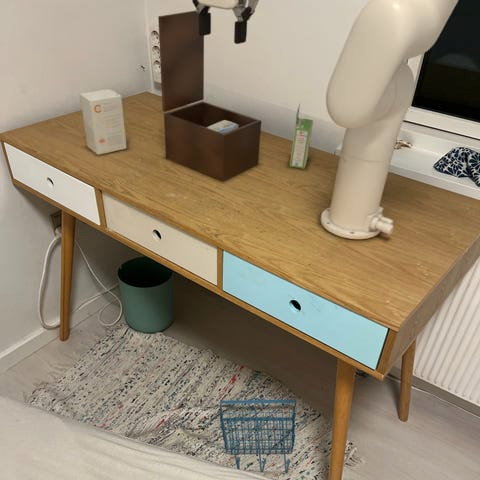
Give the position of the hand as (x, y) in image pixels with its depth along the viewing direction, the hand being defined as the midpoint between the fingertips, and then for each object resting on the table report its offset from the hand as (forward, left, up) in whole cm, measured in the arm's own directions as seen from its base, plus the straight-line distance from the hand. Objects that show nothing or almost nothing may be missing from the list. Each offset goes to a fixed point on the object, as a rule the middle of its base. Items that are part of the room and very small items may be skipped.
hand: (222, 38), depth 106 cm
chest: (+2, 0, -28) cm, 28 cm away
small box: (+26, +13, -28) cm, 40 cm away
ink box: (-14, -15, -28) cm, 34 cm away
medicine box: (0, 0, -27) cm, 27 cm away
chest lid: (+11, 0, -7) cm, 13 cm away
